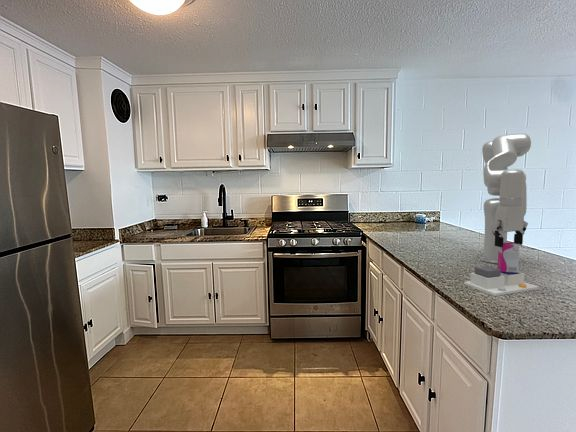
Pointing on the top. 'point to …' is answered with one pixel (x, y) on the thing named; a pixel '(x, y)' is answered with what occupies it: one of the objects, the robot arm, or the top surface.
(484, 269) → the plain breaker
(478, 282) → the breaker panel
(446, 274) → the top surface
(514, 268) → the supplement box
